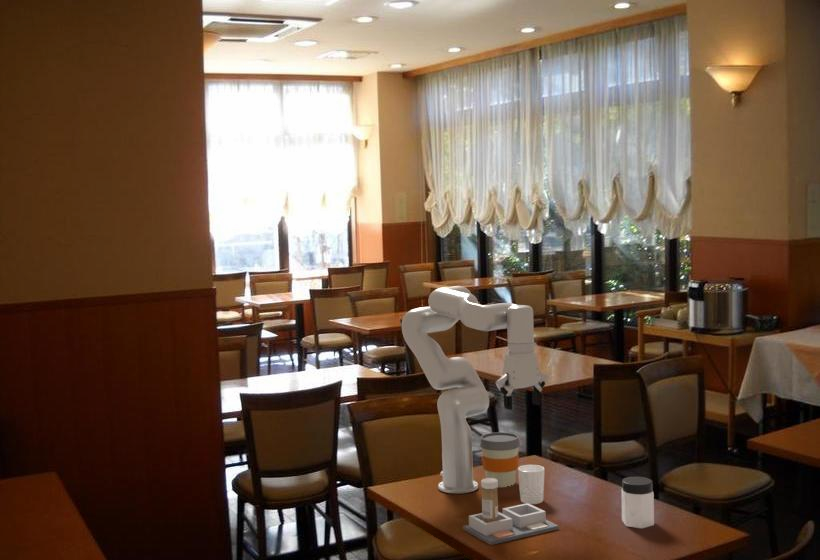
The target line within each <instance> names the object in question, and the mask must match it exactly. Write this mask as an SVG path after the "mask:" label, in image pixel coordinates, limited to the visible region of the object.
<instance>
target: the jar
mask: <svg viewBox="0 0 820 560" xmlns="http://www.w3.org/2000/svg"><path fill="white" fill-rule="evenodd" d="M621 481H622V483H621V484H622V485H621V486H622V487H621V491H620V492H621V494H620V495H621V521H622V523H623V524H624V525H625V527H630V528H634V529H635V528H636V529H646V528H649V527H652V526H655V505H654V503H655V502H654V501H655V500H654V499H655V498H654V497H655V494H654V490H653V480H652V479H650V478H648V477H644V476H628V477H624V478H623V479H622V480H621Z"/></svg>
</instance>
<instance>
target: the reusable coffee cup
mask: <svg viewBox="0 0 820 560" xmlns="http://www.w3.org/2000/svg"><path fill="white" fill-rule="evenodd" d="M479 441H480V444H479V446H480V448H481V454H480V455H481V462H482V463H481V464H482V468H483V470H484V473H485V475H484V476H485V478H495V479H497V480H498V488H508V487H507V486H509V487H512V486H514V485H515V484H516V475H517V470H518V467H519V461H520V460H519V458H520V453H519V448H520V446H521V445H520V439H519V435H517V434H515V433H511V432H505V431H504V432H500V431H499V432H490V433H485V434H482V435H480V440H479ZM511 485H512V486H511Z"/></svg>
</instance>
